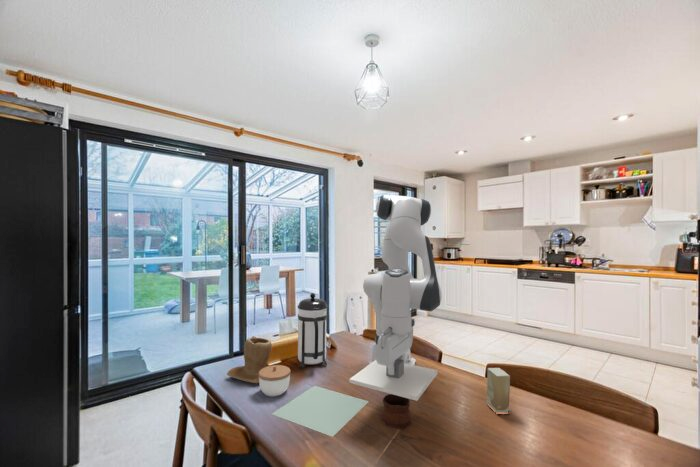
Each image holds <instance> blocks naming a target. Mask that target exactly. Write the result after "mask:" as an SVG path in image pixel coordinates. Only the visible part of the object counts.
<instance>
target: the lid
mask: <svg viewBox="0 0 700 467" xmlns="http://www.w3.org/2000/svg"><path fill="white" fill-rule="evenodd" d="M394 368H396V370H395V371H396V372H395V374H394V375H389V374H388V367H387V366H384V365H380V364H378V363H377V361H376V360H375V361H373V362H372V363H371V364H369V363H368V365H367V366H365V367H363V368H362V369H361V370H360V371H358V372H356V374H354V375H353V376H351V377H350V378H348V384H353V385H356V386H361V387H364V388H368V389H372V390H375V391H379V392H382V393H386V394H393V395H397V396H401V397H404V398H408V399H409V400H413V401H416V402H418V401H419V399H420V398H421V396H422V395H424V392H425V391H426V390H427V388H428V387H429V386H430V384H431V383H432V382H433V380H434V379H435V378H436V376H437V375H438V373H439V372H438V369H433V368H429V367H424V366H419V365H416V364H415V365H410V364H406V363H404V360H401V359H396V360H395V363H394Z"/></svg>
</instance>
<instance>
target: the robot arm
mask: <svg viewBox="0 0 700 467" xmlns="http://www.w3.org/2000/svg"><path fill="white" fill-rule="evenodd" d="M375 209H376V210H375V211H376V216H377V217H378V218H379V219H381V220H383V221H388V222H387V225H386V228H385V231H384V236H383V242H382V248H381V255H380V257H381V260H382V261H383V263H384V264H385V265H387V267H388V269H387V270H385V271H384V272H383V273H379V272H378V273H373V274H372V273H371V274H368V275H366V277H365V278H364V280H363V284H362V285H363V286H362V288H363V292H364V294H365V295H366V296H367V297H368V298H369V300H370V302H371V304H372V306H373V309H374V312H375V320H376V323H375V324H376V329H375V330H376V333H375V335H374V341H375V342H374V343H375V344H373V346H372V347H371V349H372V350H371V361H369V362H368V365H369V364H371V363H372V362H373V361H375V360H376V361H377V363H378V364H380V365H384V366H387V367H388V374H389V375H394V374H395V372H396V371H395V370H396V368H394V363H395V360H396V359H401V360H404V363H406V364H410V365H415V366H416V363H415V362H417V360H416V359H415V358H414V357H411V348H412V347H413V346H412V345H413V340H414V326H415V323H416V320H415V318H414V317H412V313H411V309H412V310H420V311H426V312H432V311H434V310H436V309H437V308H439V307H440V305H441V301H442V296H443V295H442V291H441V286H440V284H439V281H438V276H437V271H436V263H435V259H434V253H433V248H432V244H431V241H430V238H429V237H428V236H427V235H425V234H424V233H423V231H422V227H421V226H424V225H425V224H427V223H428V221H429V220H430V218H431V214H432V208H431V203H430V202H429V201H428V200H426V199H423V198H421V199H420V198H418V197H414V196H410V195H409V196H408V195H396V194H395V195H394V194H393V195H392V194H382V195H381V196H379V199H378V200H377V202H376V205H375ZM409 252H410V253H413V254H415V255H416V256H418V257H419V258H420V259H421V263H422V269H423V270H422V271H423V277H422V278H414V276H413V275H412V273H411V270H410V266H409Z"/></svg>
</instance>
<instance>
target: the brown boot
mask: <svg viewBox="0 0 700 467" xmlns="http://www.w3.org/2000/svg"><path fill="white" fill-rule="evenodd" d="M271 352H272V342H271V340H270V339H267V338H262V337H255V336H254V337H248V338H247V339H246V340H245V342H244V345H243V357H244V358H243V359H244V365H238V366H236V367H232V368H231V369H230V370H228V371H227V373H226V375H227V377H230V378H234V379H237V380H239V381H244V382H246V383H250V384H251V383H252V384H259V371H260V370H261V369H263V368H265V367H267V363H268V362H269V361H268V360H269V359H270V356H271Z"/></svg>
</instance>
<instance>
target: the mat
mask: <svg viewBox="0 0 700 467" xmlns="http://www.w3.org/2000/svg"><path fill="white" fill-rule="evenodd" d="M369 402H370V401H368V400H364V399H362V398H358V397H355V396H351V395H348V394H345V393H341V392H337V391H335V390H330V389H327V388H324V387H320V386H318V385H317V386H316V385H313V386H312V387H310V388H309V389H307V390H306V391H304V392H302V393H301V394H300V395H298V396H296V397H295V398H293V399H292V400H290V401H289V402H287V403H286V404H284V405H283V406H281V407H280V408H278V409H276V410H275V411H274V412H272V413H271V415H272V416H275V417H278V418H280V419H283V420H286V421H289V422H292V423H294V424H297V425H299V426H302V427H306V428H308V429H310V430H313V431H315V432H318V433H319V434H323V435H327V436H329V437H332V438H333V437H334V436H335V435H336V434H338V432H340V430H341V429H343V427H344V426H346V425H347V424H348V422H350V420H352V419H353V418H354V417H355V416H356V415H357V414H358V413H359V412H360V411H361V410H362V409H364V407H365V406H367V404H368V403H369Z"/></svg>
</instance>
